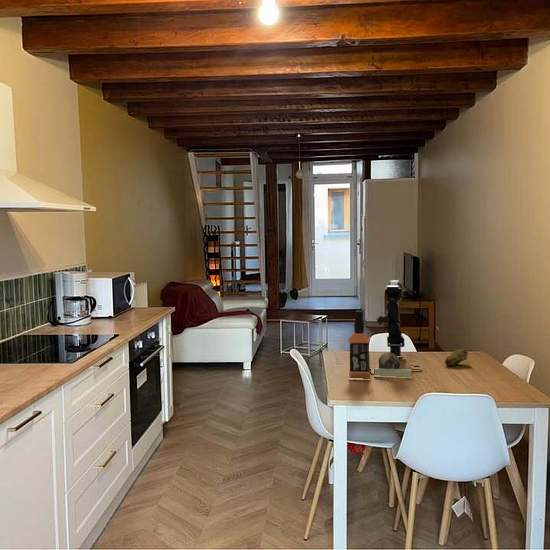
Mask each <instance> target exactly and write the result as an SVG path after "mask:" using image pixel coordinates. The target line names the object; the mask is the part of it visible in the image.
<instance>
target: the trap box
mask: <svg viewBox="0 0 550 550" xmlns="http://www.w3.org/2000/svg"><path fill="white" fill-rule="evenodd" d="M408 365H409V366H414V367H420V369H412V368H409V369H411V370H421V371H422V372H423V367H422V366H423V365H422V364H421V365H419V364H412V363H409V364H408ZM409 366H408V367H409Z"/></svg>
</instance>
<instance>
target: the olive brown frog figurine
mask: <svg viewBox="0 0 550 550" xmlns="http://www.w3.org/2000/svg"><path fill="white" fill-rule="evenodd" d="M467 359H468V351H467V350H466V349H464V348H458V349H456V350H454V351H453V352H452V353H451V354H450V355H449V356H447V357H446V358H445V360H444V363H445V365H446V366H447V367H452V366H456V365H457V366H458V365H459V364H461V362H463V361H466V360H467Z"/></svg>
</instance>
